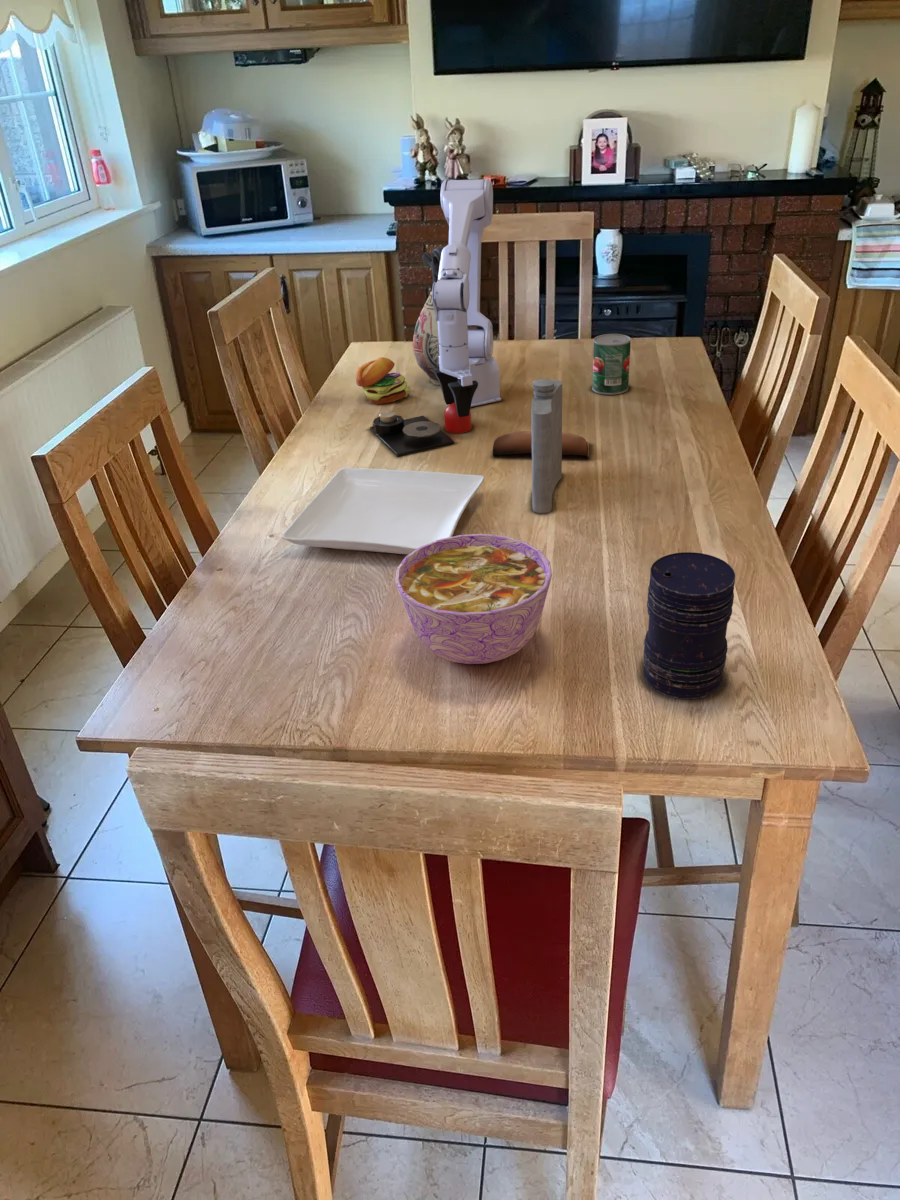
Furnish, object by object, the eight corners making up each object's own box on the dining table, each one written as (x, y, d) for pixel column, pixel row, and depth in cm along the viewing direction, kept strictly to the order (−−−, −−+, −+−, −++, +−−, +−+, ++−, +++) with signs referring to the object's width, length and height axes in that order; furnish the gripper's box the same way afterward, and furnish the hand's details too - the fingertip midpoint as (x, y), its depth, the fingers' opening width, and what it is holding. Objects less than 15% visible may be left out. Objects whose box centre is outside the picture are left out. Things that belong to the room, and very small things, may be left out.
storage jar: (711, 649, 119) (723, 549, 111) (733, 696, 111) (748, 592, 103) (634, 654, 119) (640, 554, 111) (651, 702, 111) (659, 598, 103)
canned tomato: (585, 387, 203) (586, 337, 198) (615, 380, 206) (617, 331, 200) (605, 397, 197) (606, 347, 191) (635, 390, 200) (638, 340, 194)
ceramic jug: (408, 375, 217) (396, 242, 201) (470, 365, 220) (463, 233, 204) (428, 398, 203) (417, 257, 187) (494, 387, 207) (489, 247, 191)
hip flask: (550, 514, 153) (550, 399, 143) (526, 512, 154) (524, 398, 144) (562, 473, 166) (563, 365, 156) (540, 472, 167) (539, 365, 157)
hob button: (392, 417, 188) (392, 409, 187) (398, 423, 186) (397, 414, 185) (378, 421, 187) (377, 412, 186) (383, 426, 185) (382, 417, 184)
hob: (423, 418, 193) (422, 406, 192) (454, 443, 181) (453, 431, 179) (369, 429, 190) (368, 417, 188) (397, 456, 177) (395, 444, 176)
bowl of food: (371, 649, 123) (362, 576, 117) (475, 589, 135) (471, 519, 129) (479, 713, 111) (474, 634, 105) (583, 640, 122) (584, 566, 116)
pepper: (464, 421, 190) (463, 392, 187) (475, 429, 186) (474, 400, 183) (440, 426, 189) (439, 397, 186) (451, 435, 185) (449, 405, 181)
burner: (432, 419, 187) (431, 418, 187) (446, 432, 181) (446, 430, 181) (397, 427, 184) (397, 425, 184) (411, 440, 178) (411, 438, 178)
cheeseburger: (410, 403, 200) (395, 361, 195) (364, 417, 202) (348, 375, 197) (412, 387, 209) (398, 345, 204) (368, 400, 211) (352, 359, 205)
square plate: (486, 492, 162) (486, 472, 160) (444, 571, 140) (443, 549, 138) (343, 482, 169) (340, 463, 166) (281, 556, 147) (277, 534, 144)
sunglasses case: (590, 440, 177) (590, 418, 171) (588, 470, 174) (588, 449, 168) (497, 438, 180) (494, 417, 174) (494, 468, 177) (490, 448, 171)
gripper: (486, 349, 173) (488, 418, 181) (460, 330, 185) (463, 395, 192) (450, 355, 172) (454, 424, 179) (427, 335, 183) (431, 400, 191)
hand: (457, 409), depth 185 cm, fingers open, 7 cm apart
